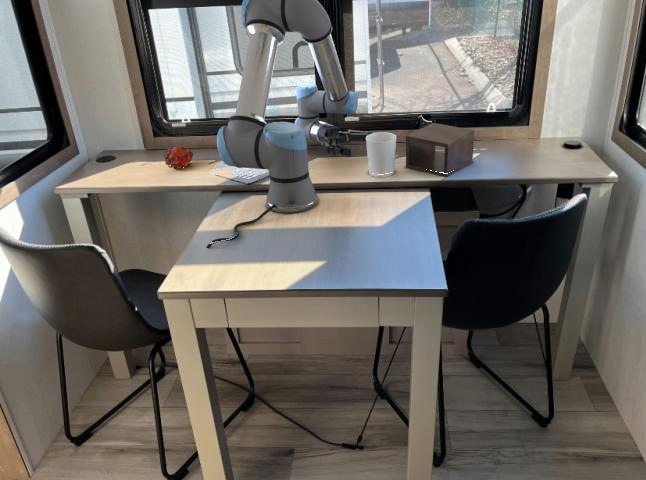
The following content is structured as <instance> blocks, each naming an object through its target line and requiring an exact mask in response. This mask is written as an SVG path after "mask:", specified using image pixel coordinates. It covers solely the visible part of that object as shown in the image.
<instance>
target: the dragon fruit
mask: <svg viewBox="0 0 646 480" xmlns="http://www.w3.org/2000/svg"><path fill="white" fill-rule="evenodd" d="M164 153H165V154H164V163H165V165H166V166H167V167H168V168H169V169H172V168H173V169H174V170H178V168H179V169H185V168H186V167H190V166H191V164H192V163H191V162H192V160H193V158H194V153H193V151H191V150H190V149H189V148H188V147H184V146H183V145H181V144H180V145H179V146H178V147H177V146H176V145H174V146H173V147H172V148H167V149H166V151H165V152H164ZM185 165H186V166H185ZM183 167H184V168H183Z"/></svg>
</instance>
